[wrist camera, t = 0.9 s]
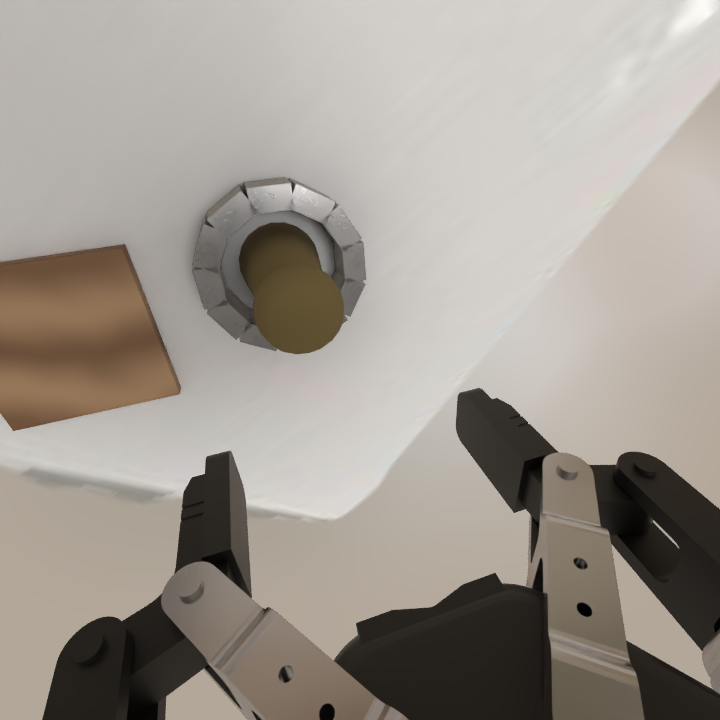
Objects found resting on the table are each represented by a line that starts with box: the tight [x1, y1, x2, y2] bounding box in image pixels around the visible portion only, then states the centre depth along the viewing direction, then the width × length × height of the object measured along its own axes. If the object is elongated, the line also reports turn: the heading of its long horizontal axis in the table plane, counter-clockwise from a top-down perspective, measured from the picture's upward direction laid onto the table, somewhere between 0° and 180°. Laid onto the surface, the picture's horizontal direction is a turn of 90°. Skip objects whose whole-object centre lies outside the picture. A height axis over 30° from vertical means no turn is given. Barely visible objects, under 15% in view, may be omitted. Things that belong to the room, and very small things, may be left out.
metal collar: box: [192, 177, 366, 351], centre depth 29 cm, size 12×12×3 cm
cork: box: [239, 223, 344, 354], centre depth 26 cm, size 6×6×11 cm
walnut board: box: [0, 244, 181, 431], centre depth 29 cm, size 12×12×1 cm
